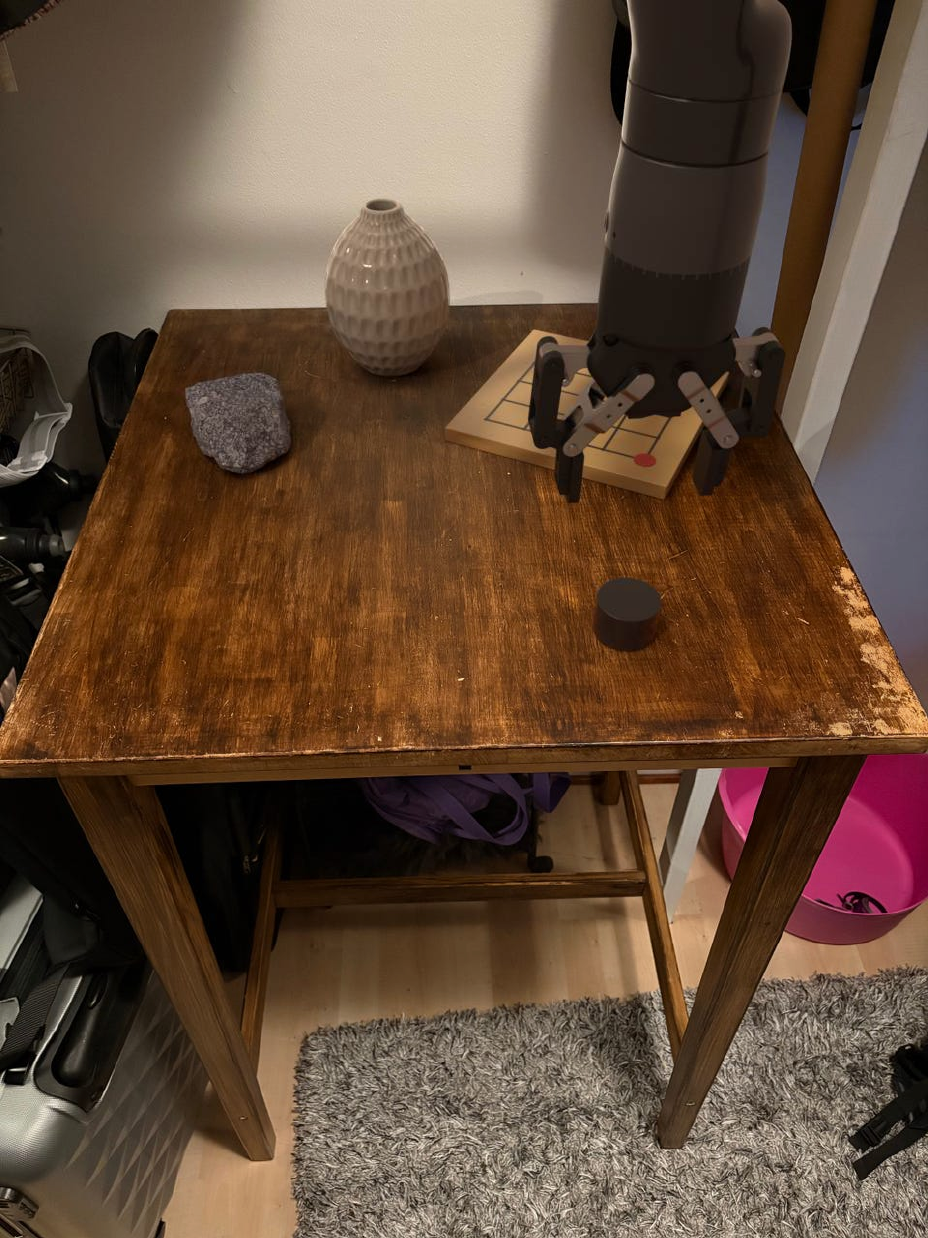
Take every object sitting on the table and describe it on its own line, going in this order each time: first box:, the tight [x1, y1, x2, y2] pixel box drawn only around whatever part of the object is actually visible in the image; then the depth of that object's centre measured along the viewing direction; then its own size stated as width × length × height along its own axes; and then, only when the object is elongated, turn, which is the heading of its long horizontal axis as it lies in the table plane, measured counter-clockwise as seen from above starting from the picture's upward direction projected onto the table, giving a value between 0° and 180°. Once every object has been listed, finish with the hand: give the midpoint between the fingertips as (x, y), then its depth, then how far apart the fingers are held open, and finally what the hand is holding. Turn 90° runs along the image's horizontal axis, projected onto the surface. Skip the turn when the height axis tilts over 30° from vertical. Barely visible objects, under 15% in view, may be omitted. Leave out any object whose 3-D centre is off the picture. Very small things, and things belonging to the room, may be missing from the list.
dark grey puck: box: [592, 576, 662, 652], centre depth 68 cm, size 5×5×3 cm
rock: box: [184, 372, 292, 474], centre depth 87 cm, size 12×5×10 cm
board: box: [444, 329, 730, 501], centre depth 91 cm, size 22×22×2 cm
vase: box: [324, 197, 451, 378], centre depth 93 cm, size 13×13×17 cm
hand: (636, 491), depth 58 cm, fingers open, 8 cm apart
